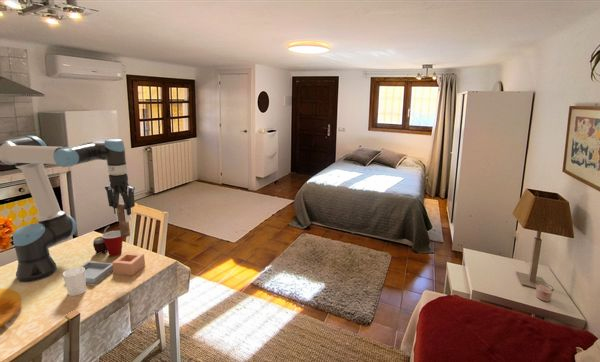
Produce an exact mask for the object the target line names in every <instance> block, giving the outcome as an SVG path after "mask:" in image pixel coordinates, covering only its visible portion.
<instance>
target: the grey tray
mask: <svg viewBox="0 0 600 362" xmlns="http://www.w3.org/2000/svg"><path fill="white" fill-rule="evenodd" d="M79 267H84V268H85V275H86V285H96V284H97V283H99V282H101V280H103V279H104V278H106V277H107V276H109V274H111V273H113V272H114V271H113V264H112V262H104V261H103V262H102V261H93V260H87V261H86V262H85V263H83V264H82V265H80V266H79Z"/></svg>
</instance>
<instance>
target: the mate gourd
mask: <svg viewBox="0 0 600 362" xmlns="http://www.w3.org/2000/svg"><path fill="white" fill-rule="evenodd" d="M109 228H110V225H108V226H106V227H105V229H104V230H103V234H104V233H107V230H108V229H109ZM92 244H93V245H92V246H93V248H94V249H93V250H94V251H95V254H96V255H98V254H100V253H103V254H106V251H107V252H108V250H107V248H106V245H105V242H104V240H103V238H102V237H101V236H98V237H95V238H94V240H93V243H92Z"/></svg>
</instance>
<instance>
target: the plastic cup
mask: <svg viewBox="0 0 600 362" xmlns="http://www.w3.org/2000/svg"><path fill="white" fill-rule="evenodd" d="M100 237H102V238H103V240H104V242H105V245H106V248H107V252H108V255H109V256H110V257H118V256H121V255H122V252H123V240H124V237H121V233H120V230H110V231H108V232H107V231H106V232H105V233H104V232H103V233H102V234H101V236H100Z"/></svg>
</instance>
